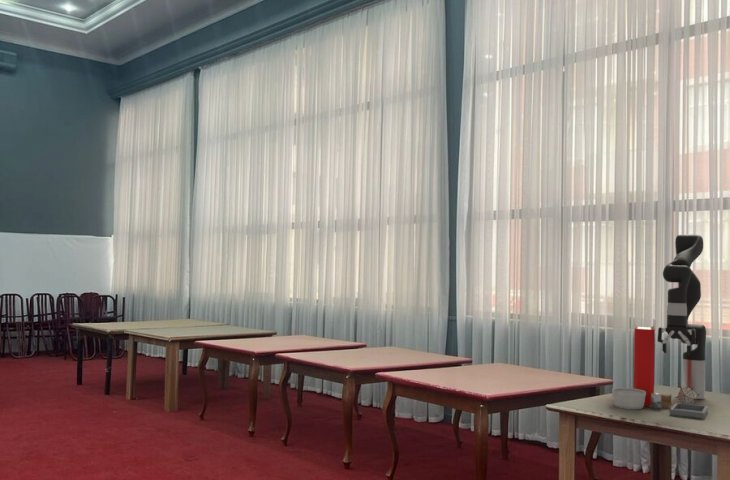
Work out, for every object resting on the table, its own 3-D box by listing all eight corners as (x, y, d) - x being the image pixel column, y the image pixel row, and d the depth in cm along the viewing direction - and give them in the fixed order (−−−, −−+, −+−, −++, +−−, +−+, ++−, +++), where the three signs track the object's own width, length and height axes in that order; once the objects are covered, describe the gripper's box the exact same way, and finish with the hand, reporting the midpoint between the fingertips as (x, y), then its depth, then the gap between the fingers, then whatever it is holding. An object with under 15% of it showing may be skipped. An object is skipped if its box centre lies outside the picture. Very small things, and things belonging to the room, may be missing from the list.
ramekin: (633, 411, 285) (633, 394, 286) (605, 405, 296) (605, 389, 296) (652, 408, 293) (652, 391, 293) (624, 403, 304) (624, 386, 304)
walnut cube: (658, 404, 302) (658, 393, 302) (671, 406, 300) (671, 394, 300) (656, 406, 298) (656, 394, 298) (669, 408, 295) (669, 396, 296)
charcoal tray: (675, 408, 294) (676, 402, 294) (708, 412, 288) (708, 406, 288) (669, 415, 278) (669, 409, 278) (703, 419, 272) (703, 413, 272)
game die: (692, 415, 301) (703, 398, 295) (672, 406, 302) (682, 390, 297) (691, 401, 308) (702, 385, 303) (672, 393, 310) (682, 377, 304)
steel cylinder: (651, 407, 296) (651, 392, 296) (661, 408, 294) (662, 393, 294) (649, 408, 292) (650, 393, 292) (660, 409, 290) (660, 395, 290)
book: (634, 395, 326) (635, 324, 327) (652, 396, 323) (653, 325, 324) (633, 404, 300) (634, 328, 302) (653, 406, 297) (654, 329, 299)
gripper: (696, 314, 291) (696, 354, 291) (659, 312, 298) (659, 351, 298) (695, 315, 285) (694, 356, 284) (656, 313, 292) (656, 353, 291)
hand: (676, 353), depth 291 cm, fingers open, 8 cm apart
